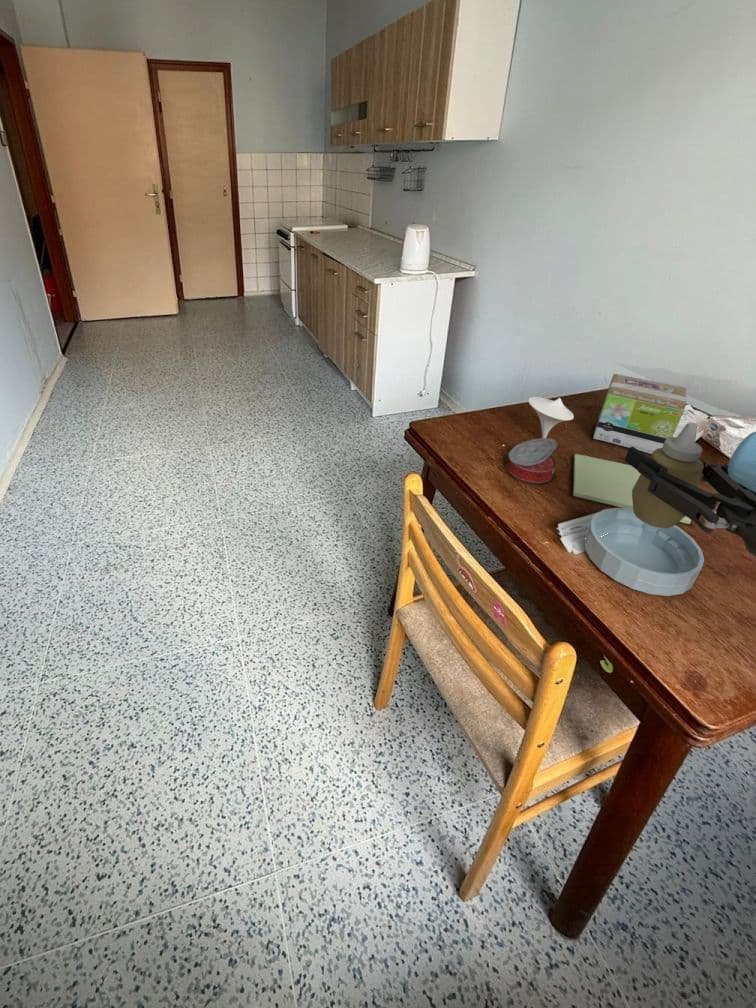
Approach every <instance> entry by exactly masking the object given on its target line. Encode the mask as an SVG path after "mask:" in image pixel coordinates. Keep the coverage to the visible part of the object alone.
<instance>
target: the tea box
mask: <svg viewBox="0 0 756 1008" xmlns="http://www.w3.org/2000/svg"><path fill="white" fill-rule="evenodd" d="M686 407H687V388H686V387H684V386H678V385H673V384H669V383H668V384H667V383H662V382H658V381H652V380H647V379H642V378H638V377H632V376H627V375H623V374H618V373H613V375H612V377H611V380H610V383H609V386H608V388H607V392H606V395H605V397H604V400H603V404H602V407H601V410H600V412H599V414H598V415H599V416H598V419H597V422H596V426H595V430H594V432H593V433H594V434H593V437H592V439H593V440H598V441H603V442H606V443H611V444H614V445H618V446H621V447H624V448H627V449H629V447H634V448H636V449H637V450H639V451H641V452H642V453H646V454H650V455H652V453H653V451H655V450H656V449H659V448H662V447H663V445H664V442H665V440H666V439H667V438H671V437H674V435H675V433H676V429H678V428H677V427H678V425H679V423H680V420H681V418H682V416H683V414H684V410H685V409H686Z"/></svg>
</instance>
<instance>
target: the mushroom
mask: <svg viewBox="0 0 756 1008" xmlns="http://www.w3.org/2000/svg"><path fill="white" fill-rule="evenodd" d="M527 402H528V404H529V406H530V407H531V408H532V409H533V410H534V411H535V412H536V414H537V416H538V418H539V421H540V427H541V438H548V434H549V433H550V431H551V430H552V429H553V427H555V426H557V425H558V424H559V423H562V422H567V421H573V420H574V418H575V416H574V413H573V412H572V411H571V410H570V409H569V408H568V407H566V405H564V403H563V401H562V399H561V397H558V398H557V399H554V400H552V399H549V398H545V397H541V396H531V397H529V398H528V401H527Z"/></svg>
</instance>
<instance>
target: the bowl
mask: <svg viewBox="0 0 756 1008" xmlns="http://www.w3.org/2000/svg"><path fill="white" fill-rule="evenodd" d="M607 533H608V534H607ZM605 534H606V535H605ZM603 535H604V536H603ZM601 536H602V537H601ZM585 538H586V539H585ZM584 550H585V552H586V553H587V555H588V557H589V559H590V560H591V562H592V563H593V564H594V565H595V566H596V567H597V568H598V569H599V570H600V571H601V572H603V573H604V574H605V575H607V576H608V577H609V578H611V579H612V580H614V581H615V582H618V583H620V584H621V585H624V586H625V587H628V588H630V589H632V590H635V591H638V592H641V593H645V594H648V595H652V596H653V595H654V596H663V597H664V596H665V597H671V596H677V595H683V594H684V593H686V592H688V591H689V590H691V589H692V588H693V587H694V584H695V583H696V581H697V578H698V576H699V575H700V572H701V571H702V569H703V566H704V563H705V557H704V554H703V551H702V548H701V547H700V545H698V543H697V542H696V540H695V539H694V538H693V537H692V536H691V535H689V534H688V533H687V532H685V531H684V530H683V529H682V528H681V527H679V526H677V525H674V526H673V527H671V528H658V527H654V526H651V525H648V524H646V523H644V522H642V521H641V520H640V519H638V518H637V517H636V515H635V514H634V512H633V509H626V508H621V507H613V508H612V507H611V508H605V509H602V510H600V511H597V512H596V513H595V514H594V515H593V517H592V518H591V519H590V521H589V524H588V527H587V529H586V532H585V536H584Z"/></svg>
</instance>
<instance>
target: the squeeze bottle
mask: <svg viewBox="0 0 756 1008" xmlns="http://www.w3.org/2000/svg"><path fill="white" fill-rule="evenodd" d="M697 430H698V424H696V423H695V422H690V421H689V422H687V423H686V424H685V425H684V427H683V428H682V430H681V431H679V433H678V434H677V435H676V437H675V436H673V437H671V438H667V439H666V440H665V442H664V445H663V447H662V448H659V449H656V450H655V451H653V453H652V454H650V456H649V457H650V458H651V459H653V460H654V461H656V462H657V463H658V464H660V465H662V466H663V467H665V468H667V472H666V473H668V474H670V475H672V476H674V477H677V478H679V479H681V480H683V481H685V482H688V483H690V484H692V485H694V486H696V487H698V488H699V485H700V482H701V479H702V476H703V474H702V471H703V468H704V466H703V463H702V462H701V460H700V459H701V456H702V453H703V448H702V446H700V444H698V443H697V442H696V441H697V440H696V439H697ZM699 458H700V459H699ZM650 482H651V481H650V480H649V479H647V478H646V477H645V476H643V475H642V474H641V475H640V476H639V478H638V480H637V482H636V484H635V486H634V487H633V489H632V500H633V512H634V514H635V515H636V517H637V518H638V519H640V520H641V521H642V522H644V523H646V524H648V525H651V526H654V527H658V528H671V527H673V526H674V525H675V526H677V524H678V523H680V522H679V521H680V520H682V519H683V518H684V517H685V515H683V514H682V513H680V512H679V511H677V510H676V509H674V508H673V507H671V506H670V505H668V504H667V503H665V502H664V501H662V500H661V499H659V498H658V497H656V496H654V495H653V494H651V493H650V492H649V491H648V487H649V484H650Z"/></svg>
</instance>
